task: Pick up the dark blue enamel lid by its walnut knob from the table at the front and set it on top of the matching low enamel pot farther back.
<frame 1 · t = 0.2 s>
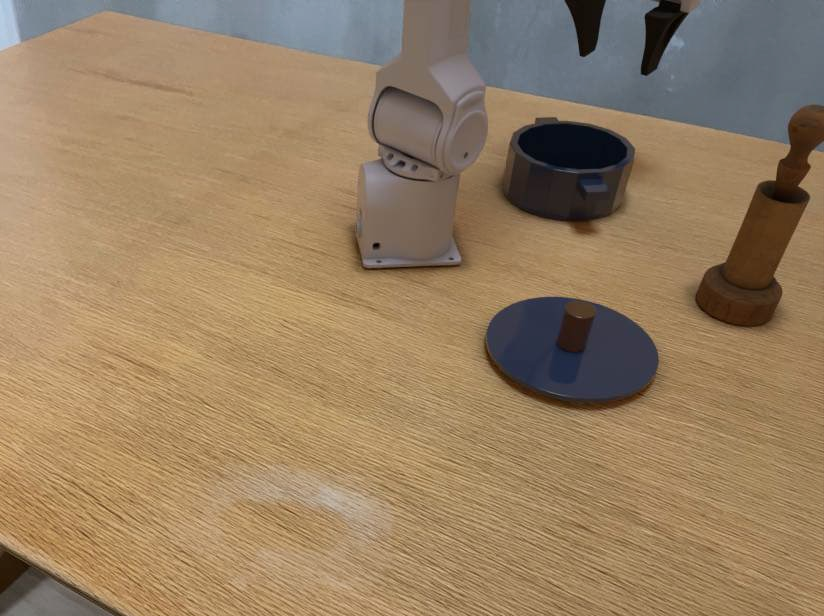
hand: (617, 62, 90), 11 cm above the table, tool pointing down, fingers open, 7 cm apart
carrot: (431, 149, 99), on the table
lid: (569, 348, 69), point 1 cm above the table
pot: (561, 192, 90), on the table
mortar and pestle: (733, 306, 74), on the table
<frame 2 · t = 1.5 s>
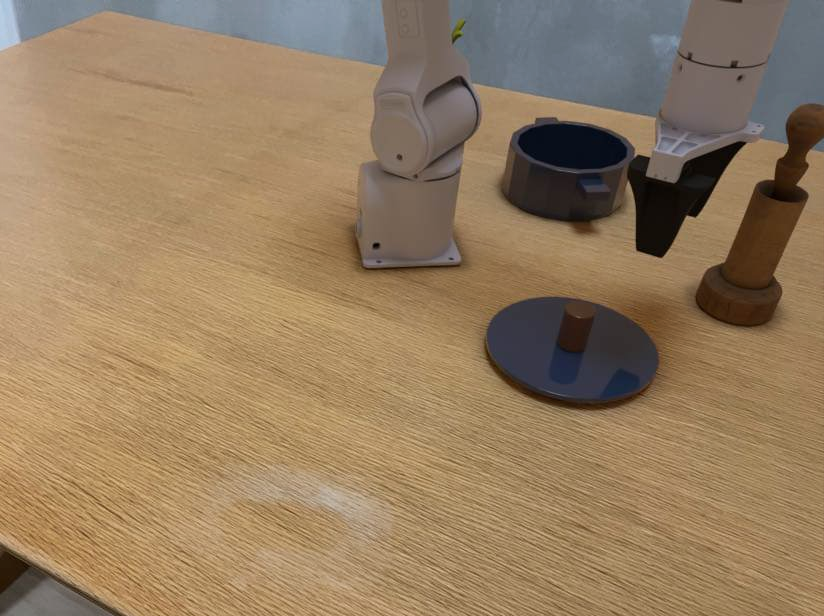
hand: (667, 232, 65), 10 cm above the table, tool pointing down, fingers open, 7 cm apart
nothing on the table moved.
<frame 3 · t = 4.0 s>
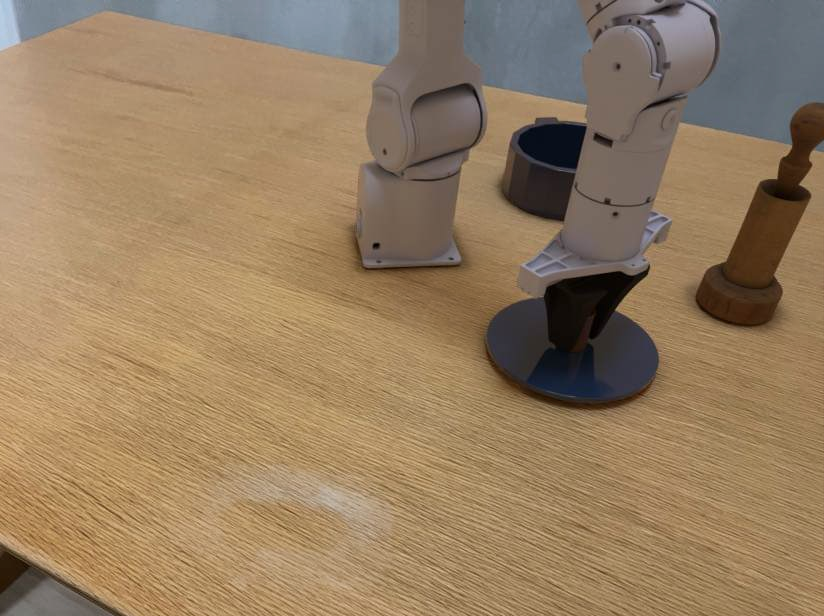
hand: (572, 338, 68), 2 cm above the table, tool pointing down, fingers closed on lid, 2 cm apart
lid: (569, 348, 69), point 1 cm above the table, touching gripper
everything else where it was.
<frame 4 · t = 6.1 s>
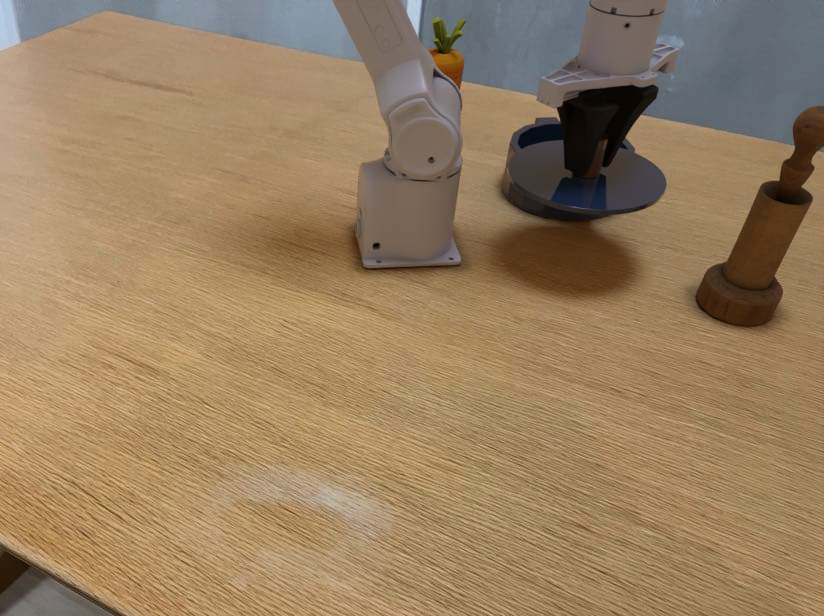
hand: (586, 166, 74), 9 cm above the table, tool pointing down, fingers closed on lid, 2 cm apart
lid: (584, 177, 75), point 8 cm above the table, touching gripper
everything else where it was.
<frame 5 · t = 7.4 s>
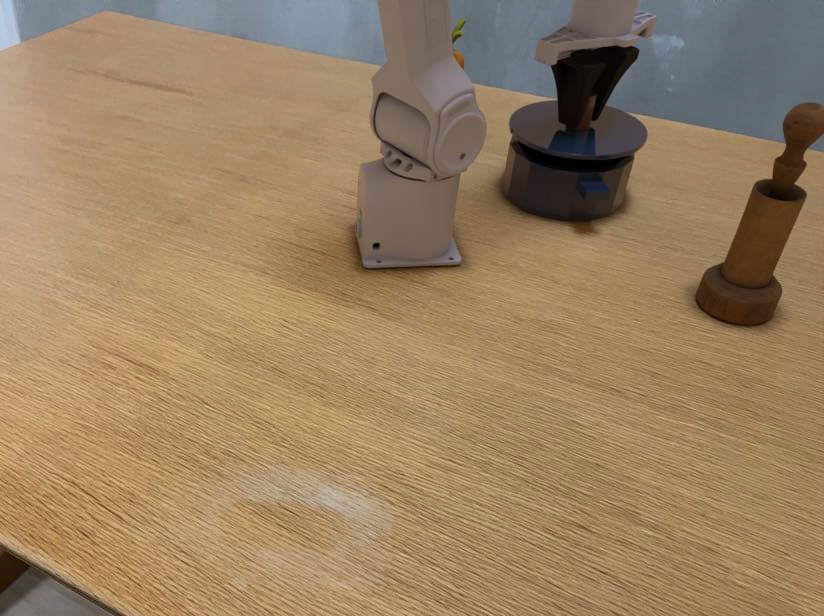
hand: (577, 120, 85), 8 cm above the table, tool pointing down, fingers closed on lid, 2 cm apart
lid: (576, 130, 85), point 7 cm above the table, touching gripper
everything else where it was.
when the fingers open (6 cm above the table, at t = 8.2 s): lid stays where it is, resting on pot.
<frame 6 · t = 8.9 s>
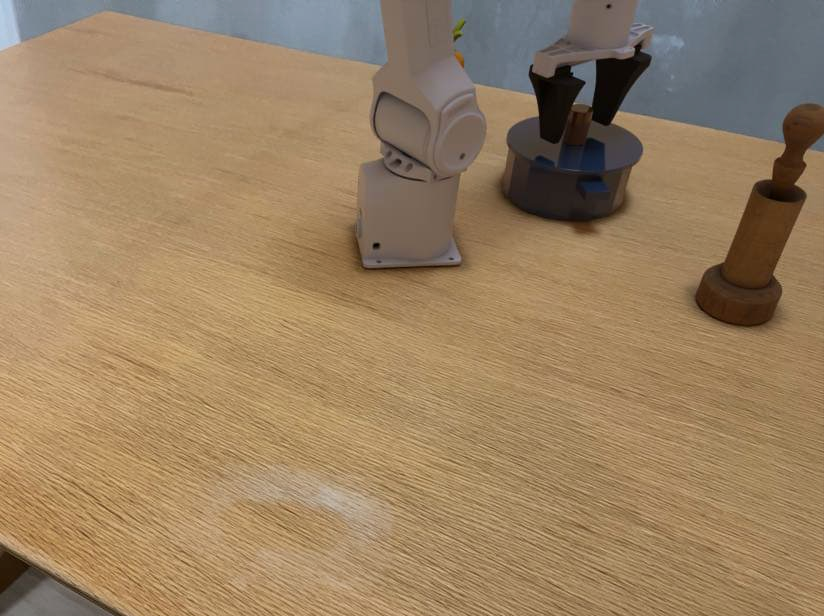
hand: (575, 131, 85), 7 cm above the table, tool pointing down, fingers open, 7 cm apart
lid: (573, 145, 86), point 5 cm above the table, touching pot
everything else where it was.
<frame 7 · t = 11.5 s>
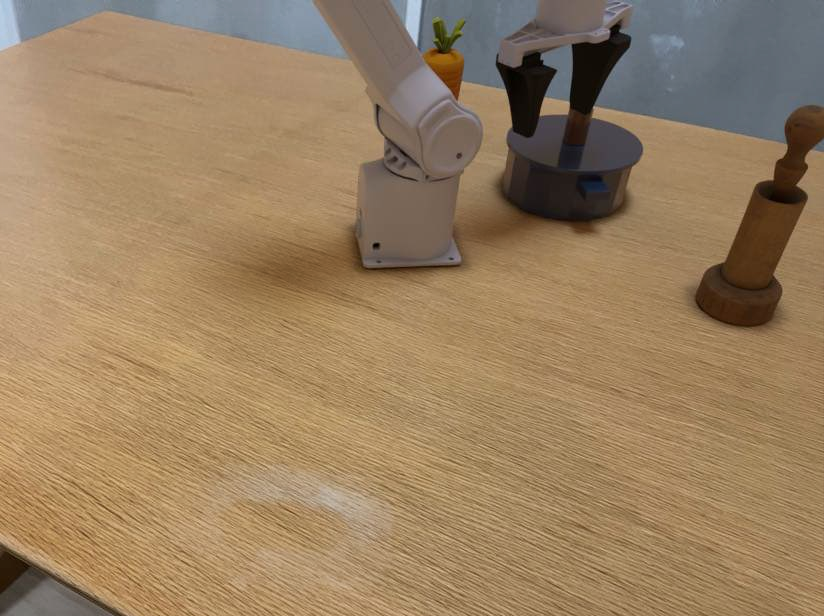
hand: (551, 122, 79), 10 cm above the table, tool pointing down, fingers open, 7 cm apart
nothing on the table moved.
at the end: lid 0.1 cm off-centre on the pot, point 5.4 cm above the pot's base; lid tilted 0° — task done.
